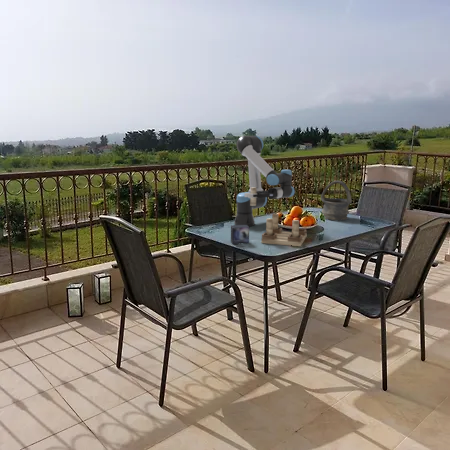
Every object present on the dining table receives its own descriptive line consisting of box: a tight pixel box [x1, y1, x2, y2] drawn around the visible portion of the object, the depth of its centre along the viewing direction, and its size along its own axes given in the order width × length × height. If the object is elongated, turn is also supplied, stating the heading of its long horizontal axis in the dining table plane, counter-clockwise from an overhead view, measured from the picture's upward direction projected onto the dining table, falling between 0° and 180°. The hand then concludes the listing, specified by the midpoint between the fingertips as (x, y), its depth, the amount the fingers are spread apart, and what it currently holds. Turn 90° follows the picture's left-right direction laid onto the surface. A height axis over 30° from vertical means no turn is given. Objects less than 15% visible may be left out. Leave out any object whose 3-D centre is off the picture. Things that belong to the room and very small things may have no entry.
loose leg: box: [250, 187, 257, 206], centre depth 270 cm, size 4×4×12 cm
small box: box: [230, 225, 250, 245], centre depth 247 cm, size 11×6×10 cm, turn 101°
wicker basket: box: [320, 180, 352, 221], centre depth 316 cm, size 22×23×30 cm
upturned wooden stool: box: [261, 213, 308, 247], centre depth 252 cm, size 24×24×14 cm
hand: (246, 195), depth 268 cm, fingers closed on loose leg, 4 cm apart
